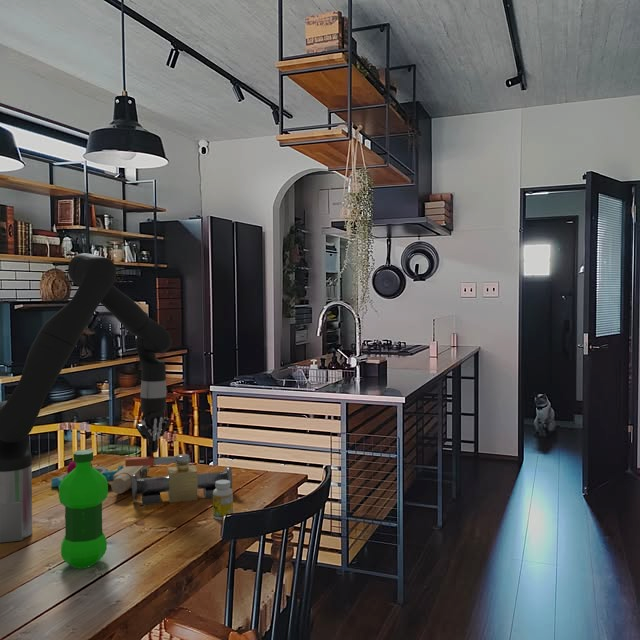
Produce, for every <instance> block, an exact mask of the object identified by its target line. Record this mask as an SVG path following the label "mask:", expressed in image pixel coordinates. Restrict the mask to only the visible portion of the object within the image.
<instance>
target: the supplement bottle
mask: <svg viewBox="0 0 640 640" xmlns="http://www.w3.org/2000/svg"><path fill="white" fill-rule="evenodd" d="M215 487H216V489H215V490H214V491H213V498H212V517H213V519H215V520H219V521H223V520H222V517H223V516H224V515H225V514H230V513H233V514H234V502H233V501H234V492H233V488H232V489H231V488H229V487H230V481H229V480H218V481H216V482H215Z"/></svg>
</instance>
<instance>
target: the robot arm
mask: <svg viewBox="0 0 640 640" xmlns="http://www.w3.org/2000/svg"><path fill="white" fill-rule="evenodd" d="M67 272H68V276H69V278H70V280H71V281H72V282H73V284H75V285H77V286H78V287H77V290H76V292H75V293H74V295H73V296H72V298H71V299H70V301H68V303H67V304H66V305H64V307H62V308H61V309H59V310H58V311H57V312H56V313H55V314H53V315H52V316H51V317H50V318H49V319H48V320H47V321H45V323H44V324H43V325H42V326H41V328H40V330H39V331H38V333H37V335H36V337H35V338H34V340H33V342H32V344H31V346H30V348H29V351H28V353H27V357H26V359H25V361H24V362H25V363H24V366H23V369H22V372H21V377H20V379H19V381H18V383H17V385H16V387H15V389H14V390H13V391H12V393H11V395H10V396H9V398H8V399H7V400H3V401H0V543H11V542H17V541H18V542H19V541H24V540H25V539H26V538H27V537H30V536H31V535H32V534H33V482H32V481H33V477H32V476H33V473H32V472H33V471H32V470H33V469H32V468H33V467H32V464H33V462H32V461H33V456H32V452H31V448H30V443H29V434H30V433H31V432H32V430H33V428H34V426H35V425H36V422H37V419H38V417H39V414H40V412H41V410H42V408H43V404H44V402H45V400H46V398H47V395H48V393H49V392H50V390H51V389H52V387H53V385H54V384H55V383H56V381H57V379H58V377H59V375H60V374H61V372H62V370H63V368H64V367H65V365H66V364H67V362H68V360H69V358H70V356H71V355H72V353H73V351H74V349H75V347H77V344H78V341H79V339H80V338H81V336H82V334H83V332H84V331H85V329H86V327H87V325H88V323H89V322H90V320H91V319H92V316H93V314H94V313H95V311H96V310H97V308H98V307H99V305H100V304H101V305H102V306H103V307H104V308H106V309H107V311H109V312H110V313H111V314H112V315H113V317H114V318H116V320H118V322H119V323H120V324H121V325H122V326H123V327H124V328H125V329H126V330H127V331H128V333H130V335H132V336H134V337H136V339H135V346H136V350H137V355H138V359H139V362H140V365H141V384H140V411H141V412H142V416H141V422H140V423H139V424H138V423H137V424H136V425H135V429H136V430H137V431H138V433H139V434H140V436H141V437H142V439H144V440H147V451H148V453H149V454H150V453H152V454H155V453H158V450H159V440H160V438H162V437H163V436H164V434H165V433H166V430H167V428H168V426H169V424H170V422H171V420H170V419H171V418H167V417H165V415H166V414H165V411H167V383H166V377H167V375H166V374H167V373H166V371H167V370H166V363H165V362H164V361H163V360H160V359H159V358H157V356H156V354H155V353H158V354H163V353H166V352H168V351H169V350H170V349H171V347H172V343H173V340H172V337H171V334H170V332H169V331H168V330H167V328H165V327H164V326H162V325H161V324H159V323H158V322H157V321H155V320H154V319H152V318H151V317H149V316H148V315H147V313H146V312H145V311H144V310H143V308H141V306H140V305H139V304H138V303H137V302H135V301H134V300H133V299H132V298H131V297H130V296H128V295H126V294H125V293H123V291H121V290H119V288H117V287H116V286H115V285H114V283H115V280H116V277H117V267H116V264H115V262H114V261H113V260H112V259H110V258H108V257H104V256H101V255H97V254H93V253H78V254H76V255H74V256H73V257H72V258H71V260H70V261H69V263H68V267H67Z"/></svg>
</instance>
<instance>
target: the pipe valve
mask: <svg viewBox="0 0 640 640" xmlns="http://www.w3.org/2000/svg"><path fill="white" fill-rule="evenodd" d="M175 465H176V466H168V467H167V476H166V475H165V476H154V477H142V478H139V479H137V474H132V488H131V498H132V500H137V499H138V497H137V496H138V495H141V503H142V504H145V505H154V504H155V505H157V504H161V493H167V497H168V498H167V499H168V502H169V504H171V503H178V502H179V503H180V502H181V501H182V502H191V501H192V500H193V501H198V490H200V489H201V490H203V491H202V492H203V495H204V497H205V499H206V500H209V498H210V499H213V491H214V490H215V489H216V487H215V482H216V481H218V480H229V481H230V487H229V488H231V489H232V490H233V473H232V468H231V467H230V466H226V467H224V471H217V472H207V473H206V472H203V473H198V469H197V467H196V465H195V464H194V465H193V464H192V465H190V462H189V463H188V464H176V463H175ZM142 504H141V505H142Z"/></svg>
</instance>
